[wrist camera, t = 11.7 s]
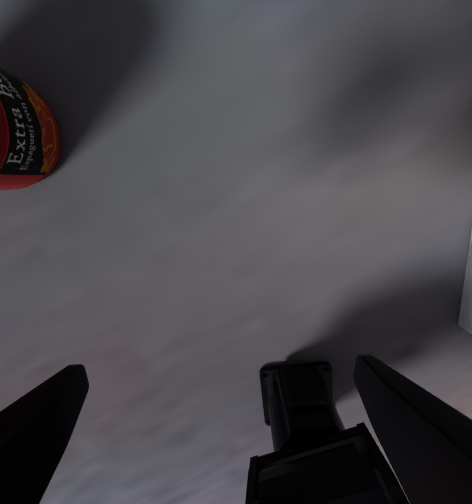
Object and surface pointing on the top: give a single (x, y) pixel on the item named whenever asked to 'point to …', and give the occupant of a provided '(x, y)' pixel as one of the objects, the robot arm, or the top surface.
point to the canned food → (25, 135)
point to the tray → (467, 295)
